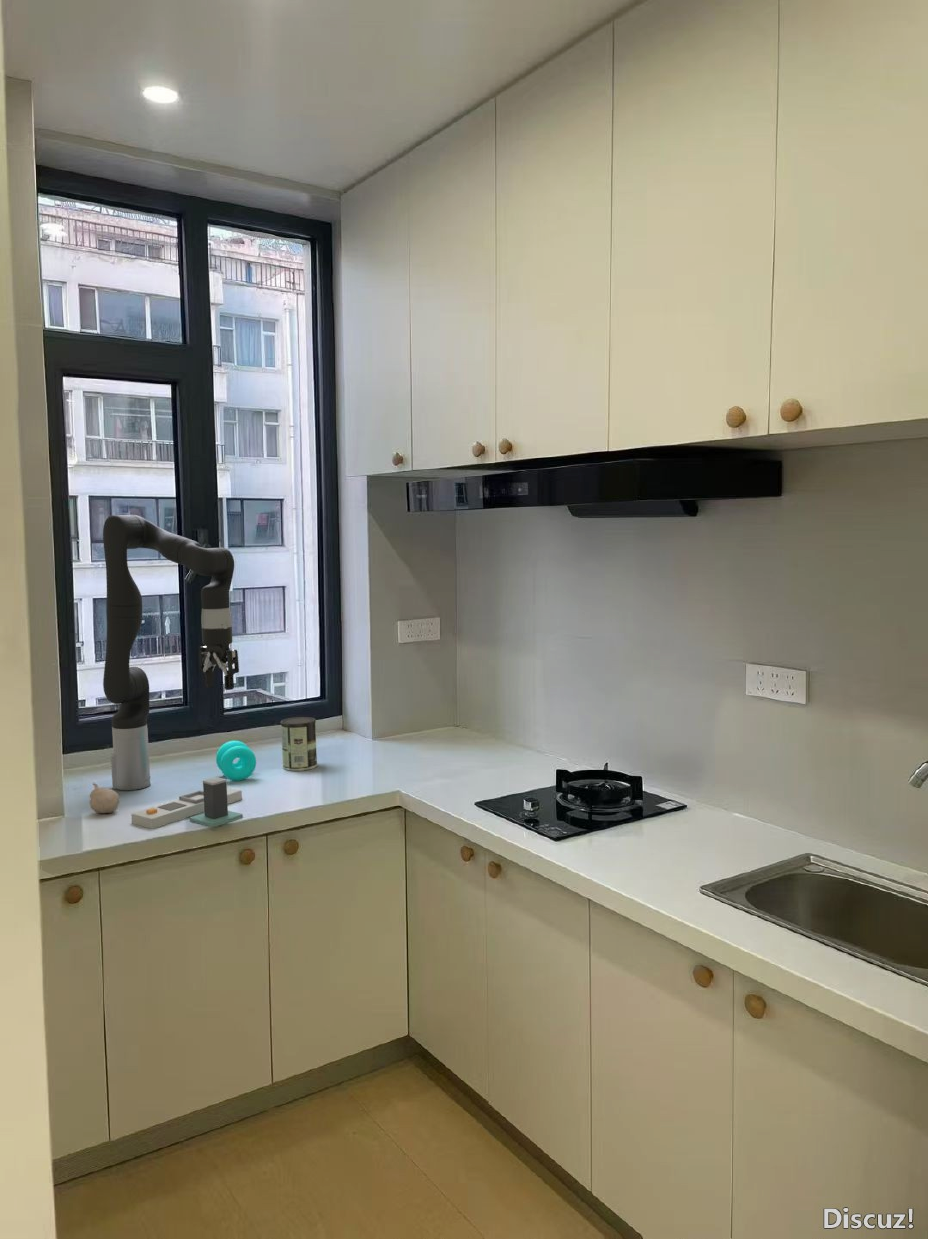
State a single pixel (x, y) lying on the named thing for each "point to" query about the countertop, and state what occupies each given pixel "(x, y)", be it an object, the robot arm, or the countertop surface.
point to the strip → (177, 809)
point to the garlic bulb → (104, 800)
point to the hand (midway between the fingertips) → (219, 687)
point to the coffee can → (299, 743)
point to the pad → (215, 822)
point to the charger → (215, 797)
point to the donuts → (239, 768)
